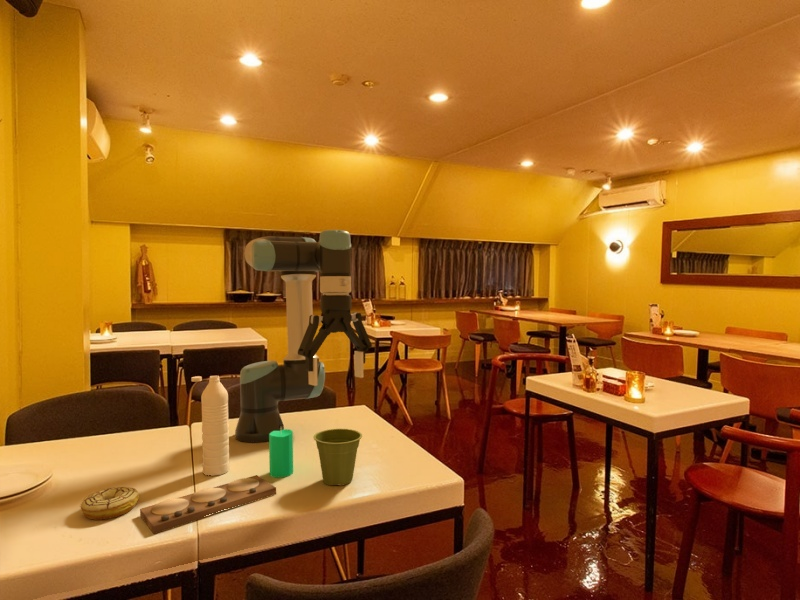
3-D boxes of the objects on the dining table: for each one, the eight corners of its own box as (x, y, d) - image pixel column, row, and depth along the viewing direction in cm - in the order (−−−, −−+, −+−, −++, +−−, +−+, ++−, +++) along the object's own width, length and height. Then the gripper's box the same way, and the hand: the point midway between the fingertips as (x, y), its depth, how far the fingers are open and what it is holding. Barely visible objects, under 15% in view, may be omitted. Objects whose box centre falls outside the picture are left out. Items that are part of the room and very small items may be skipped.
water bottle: (229, 465, 128) (227, 372, 127) (229, 474, 122) (227, 377, 121) (194, 469, 125) (192, 375, 125) (192, 479, 119) (190, 379, 118)
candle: (296, 468, 125) (296, 423, 125) (289, 477, 120) (288, 430, 119) (274, 468, 126) (273, 423, 126) (265, 477, 120) (265, 429, 120)
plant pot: (349, 493, 110) (348, 445, 110) (304, 486, 114) (304, 440, 114) (370, 474, 121) (369, 430, 121) (328, 468, 125) (328, 426, 125)
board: (140, 515, 100) (139, 505, 100) (256, 480, 118) (256, 472, 118) (153, 533, 93) (153, 523, 93) (276, 493, 110) (275, 485, 110)
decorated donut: (113, 497, 110) (113, 481, 110) (149, 503, 106) (149, 487, 106) (69, 518, 100) (68, 500, 100) (107, 525, 97) (107, 507, 96)
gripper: (298, 295, 105) (300, 391, 106) (384, 293, 122) (385, 375, 123) (282, 295, 111) (283, 385, 111) (366, 293, 128) (367, 372, 128)
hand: (336, 380), depth 117 cm, fingers open, 13 cm apart
